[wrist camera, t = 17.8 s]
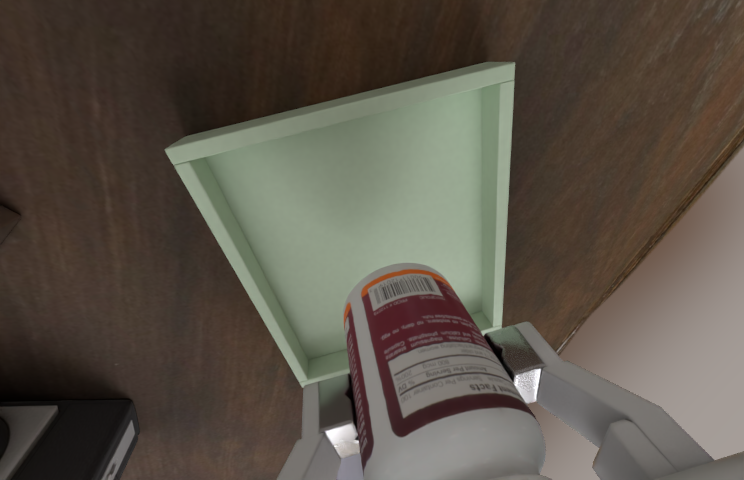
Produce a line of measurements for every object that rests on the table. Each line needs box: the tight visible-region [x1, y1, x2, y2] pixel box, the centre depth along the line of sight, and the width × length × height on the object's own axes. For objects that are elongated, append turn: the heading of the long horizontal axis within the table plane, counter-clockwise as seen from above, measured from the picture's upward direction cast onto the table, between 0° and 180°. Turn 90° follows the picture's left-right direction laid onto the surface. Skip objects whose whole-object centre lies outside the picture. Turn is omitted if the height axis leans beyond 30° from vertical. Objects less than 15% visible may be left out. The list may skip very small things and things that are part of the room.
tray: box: [165, 62, 515, 387], centre depth 16 cm, size 15×13×2 cm
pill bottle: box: [343, 263, 552, 480], centre depth 9 cm, size 5×5×8 cm
